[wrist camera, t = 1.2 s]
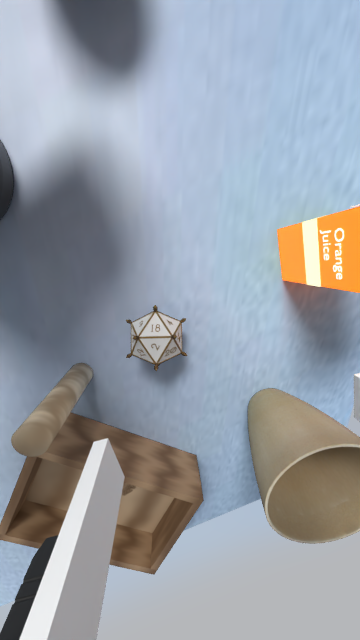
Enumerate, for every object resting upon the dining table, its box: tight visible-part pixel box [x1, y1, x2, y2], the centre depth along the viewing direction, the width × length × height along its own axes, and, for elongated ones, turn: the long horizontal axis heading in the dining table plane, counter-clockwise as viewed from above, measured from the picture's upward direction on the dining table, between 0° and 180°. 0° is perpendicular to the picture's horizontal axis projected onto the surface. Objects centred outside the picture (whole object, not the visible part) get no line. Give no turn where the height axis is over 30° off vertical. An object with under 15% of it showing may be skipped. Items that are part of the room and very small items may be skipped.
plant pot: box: [248, 388, 360, 544], centre depth 32 cm, size 15×15×16 cm
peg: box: [11, 363, 93, 457], centre depth 29 cm, size 4×4×14 cm
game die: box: [126, 305, 187, 371], centre depth 30 cm, size 9×8×10 cm
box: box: [0, 412, 203, 574], centre depth 37 cm, size 26×18×8 cm
